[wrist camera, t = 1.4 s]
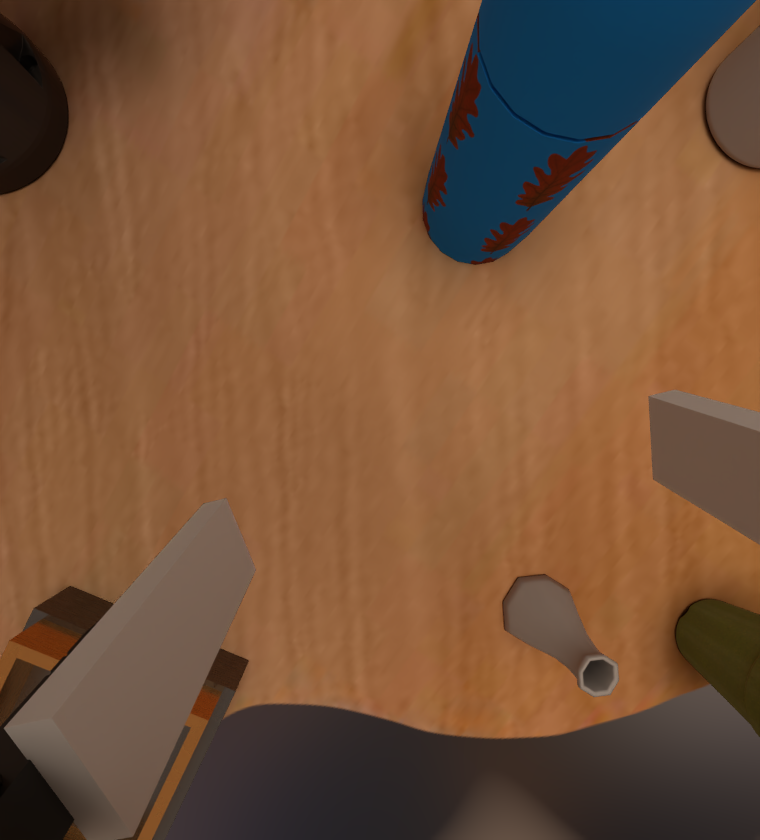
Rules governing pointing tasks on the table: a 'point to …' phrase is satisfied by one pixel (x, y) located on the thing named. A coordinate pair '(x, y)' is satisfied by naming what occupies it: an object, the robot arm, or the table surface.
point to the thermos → (551, 107)
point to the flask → (558, 631)
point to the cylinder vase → (737, 103)
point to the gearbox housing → (51, 640)
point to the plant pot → (725, 652)
